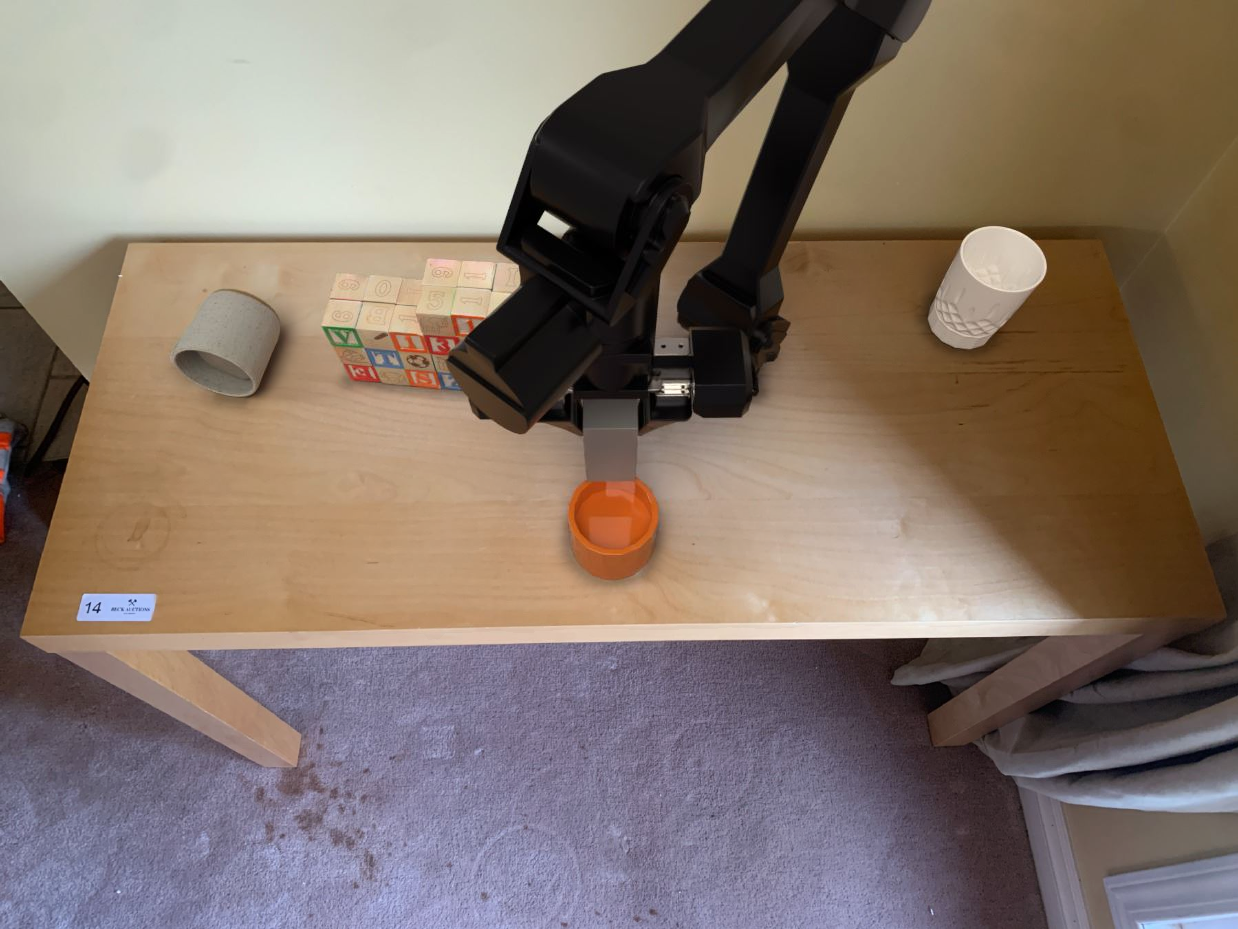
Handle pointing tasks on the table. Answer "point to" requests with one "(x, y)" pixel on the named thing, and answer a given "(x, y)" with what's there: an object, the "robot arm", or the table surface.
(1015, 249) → the white cup
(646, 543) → the cup
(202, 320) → the ceramic mug
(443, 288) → the stack of blocks
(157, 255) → the table surface
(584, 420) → the block
